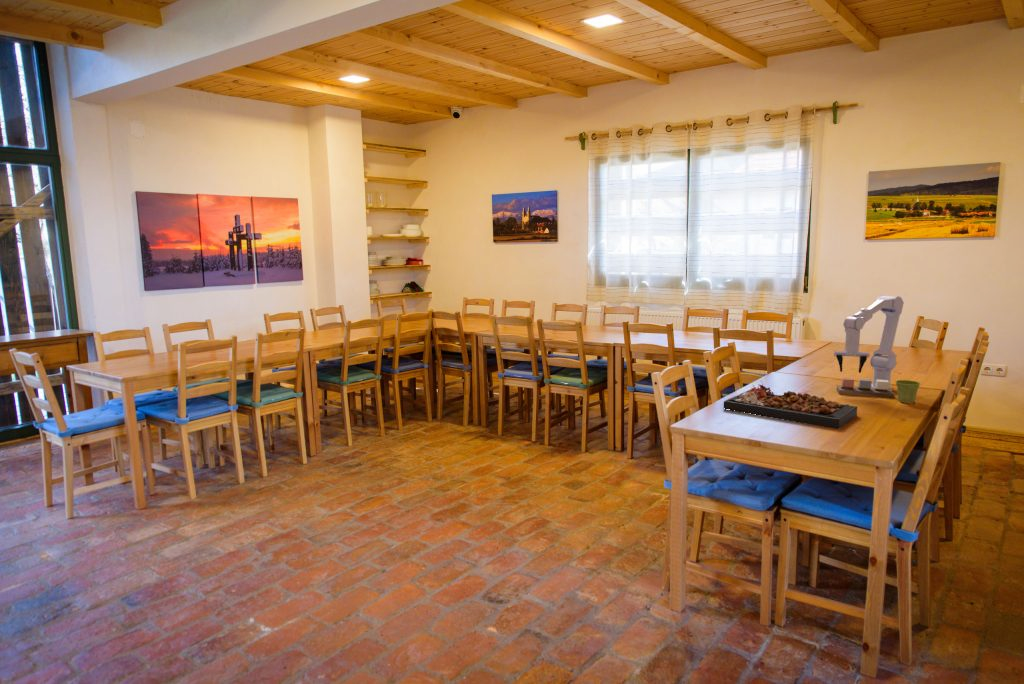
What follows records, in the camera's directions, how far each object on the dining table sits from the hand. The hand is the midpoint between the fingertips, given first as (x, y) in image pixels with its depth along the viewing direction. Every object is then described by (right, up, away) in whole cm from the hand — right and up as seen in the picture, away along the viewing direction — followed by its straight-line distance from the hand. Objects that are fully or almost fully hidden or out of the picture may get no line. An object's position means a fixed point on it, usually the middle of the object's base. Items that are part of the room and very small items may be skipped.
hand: (850, 371), depth 294 cm
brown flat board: (+6, -10, 0) cm, 12 cm away
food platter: (-43, -16, -32) cm, 55 cm away
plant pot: (+16, -13, -16) cm, 26 cm away
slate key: (+6, -7, -1) cm, 9 cm away
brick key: (0, -7, +2) cm, 7 cm away
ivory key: (+13, -7, -3) cm, 15 cm away
